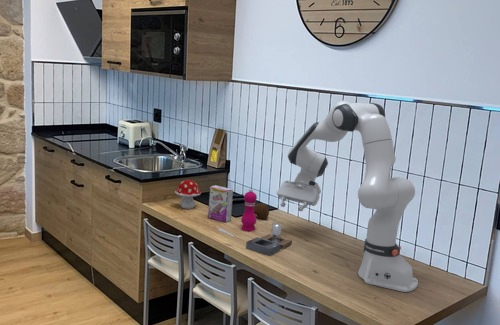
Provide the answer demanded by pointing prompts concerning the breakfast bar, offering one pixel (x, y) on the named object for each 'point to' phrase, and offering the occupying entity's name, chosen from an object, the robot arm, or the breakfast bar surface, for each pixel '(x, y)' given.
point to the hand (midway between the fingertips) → (291, 208)
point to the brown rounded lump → (261, 210)
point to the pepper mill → (249, 211)
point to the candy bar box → (220, 203)
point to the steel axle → (276, 232)
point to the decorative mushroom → (187, 193)
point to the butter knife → (225, 231)
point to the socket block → (263, 246)
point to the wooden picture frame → (283, 241)
